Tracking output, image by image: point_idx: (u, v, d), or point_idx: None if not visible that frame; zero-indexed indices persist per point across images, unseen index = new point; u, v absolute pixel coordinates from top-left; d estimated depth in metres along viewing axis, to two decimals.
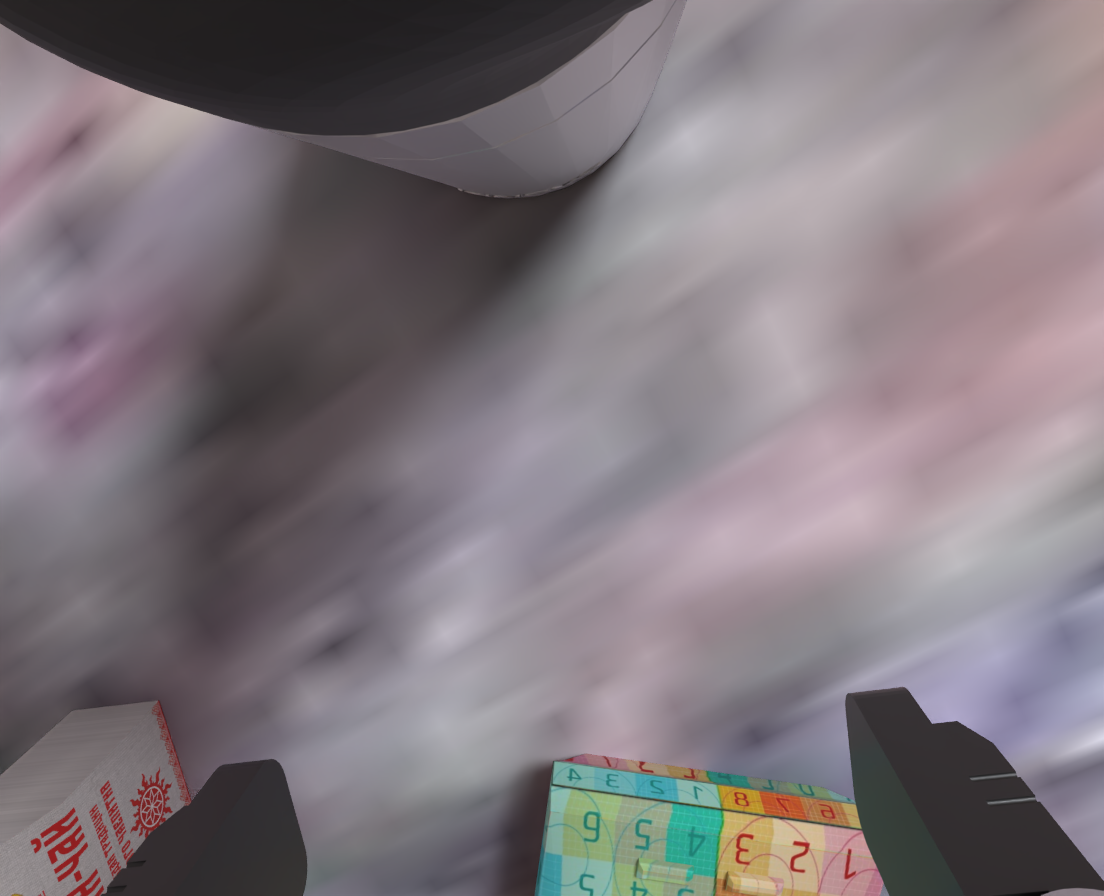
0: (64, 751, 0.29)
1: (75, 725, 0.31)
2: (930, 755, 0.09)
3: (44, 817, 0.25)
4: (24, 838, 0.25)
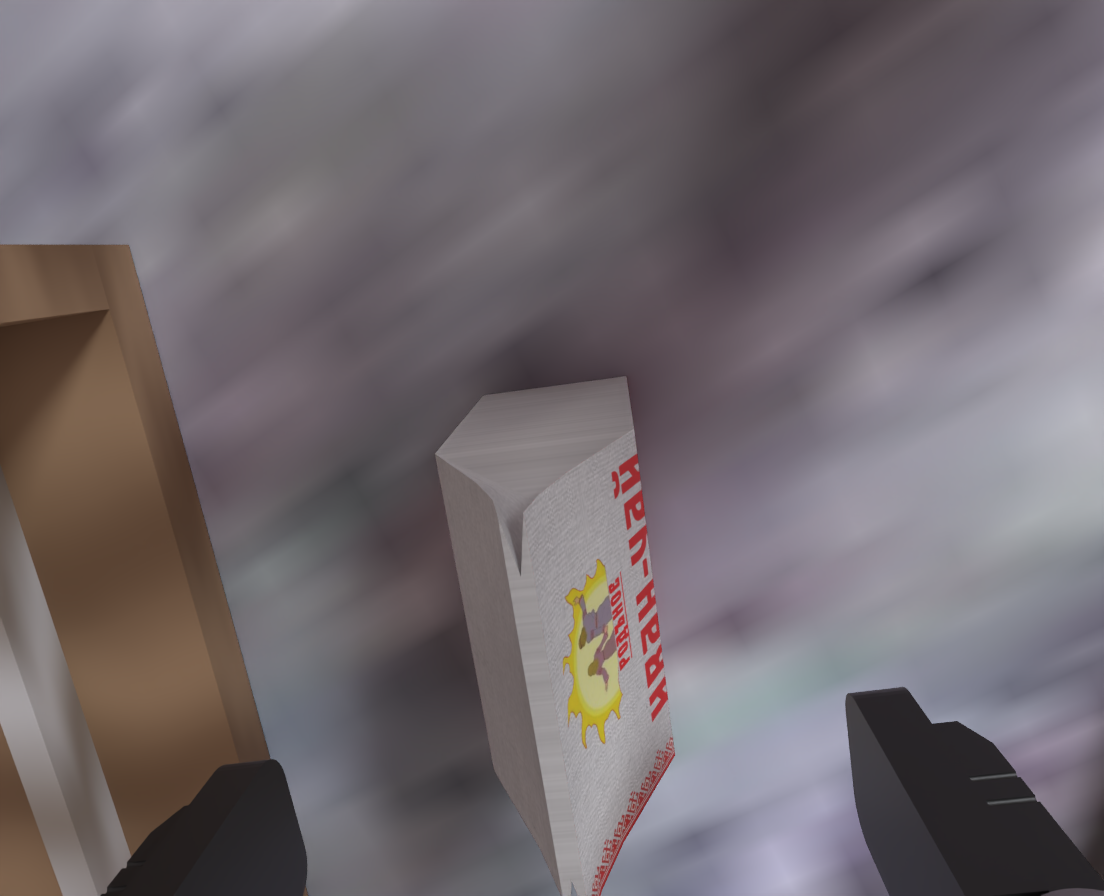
0: (538, 409, 0.17)
1: (513, 399, 0.19)
2: (930, 755, 0.09)
3: (621, 440, 0.14)
4: (606, 464, 0.13)
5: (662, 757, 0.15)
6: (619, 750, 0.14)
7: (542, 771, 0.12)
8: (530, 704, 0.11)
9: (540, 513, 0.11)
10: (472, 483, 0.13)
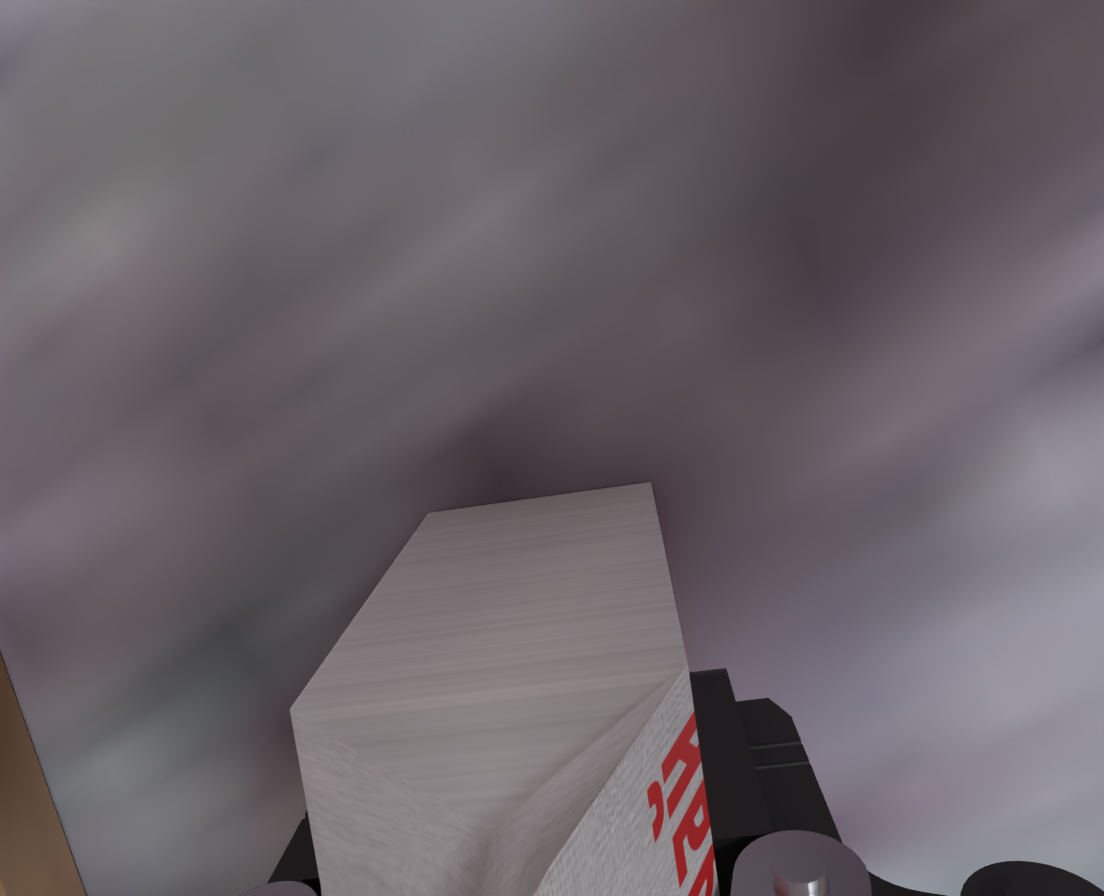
0: (506, 564, 0.10)
1: (471, 529, 0.12)
2: (723, 725, 0.10)
3: (664, 703, 0.07)
4: (637, 779, 0.06)
5: None
6: None
7: None
8: None
9: None
10: (320, 877, 0.05)
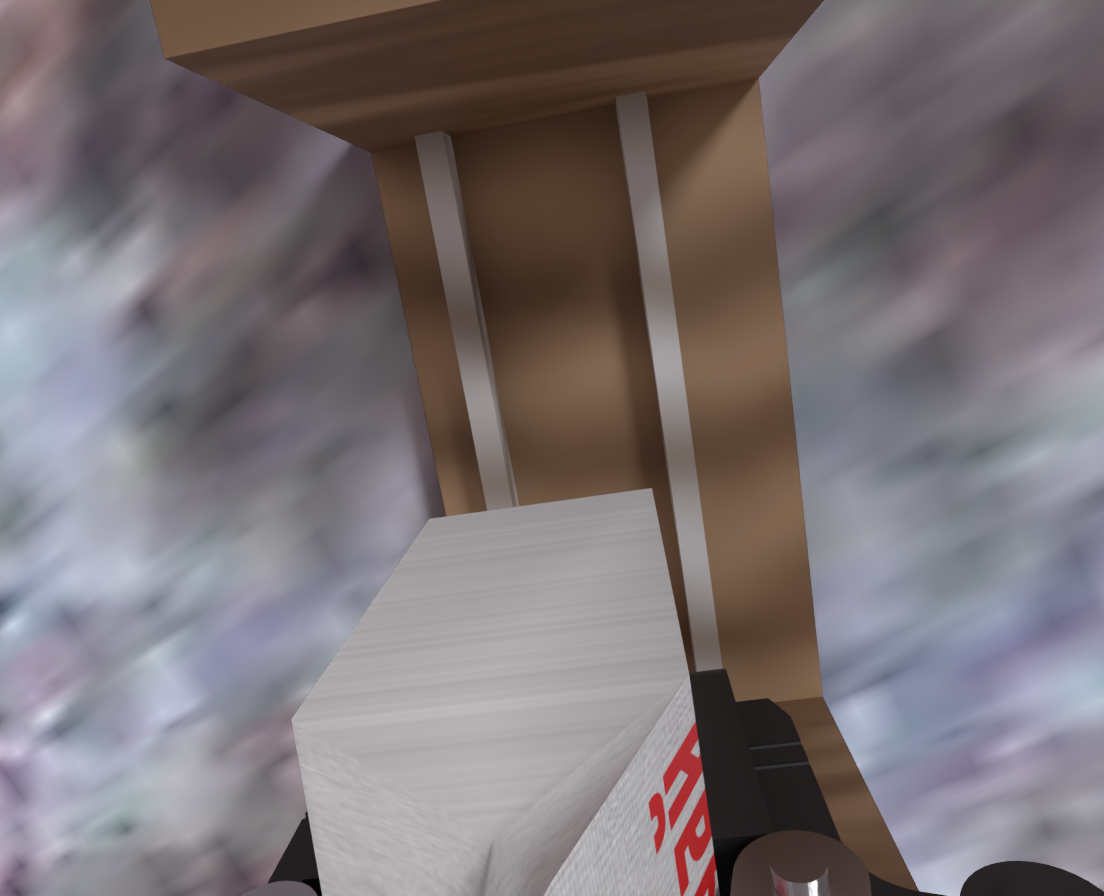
0: (508, 571, 0.10)
1: (472, 535, 0.12)
2: (723, 725, 0.10)
3: (666, 714, 0.07)
4: (639, 792, 0.06)
5: None
6: None
7: None
8: None
9: None
10: (322, 891, 0.05)
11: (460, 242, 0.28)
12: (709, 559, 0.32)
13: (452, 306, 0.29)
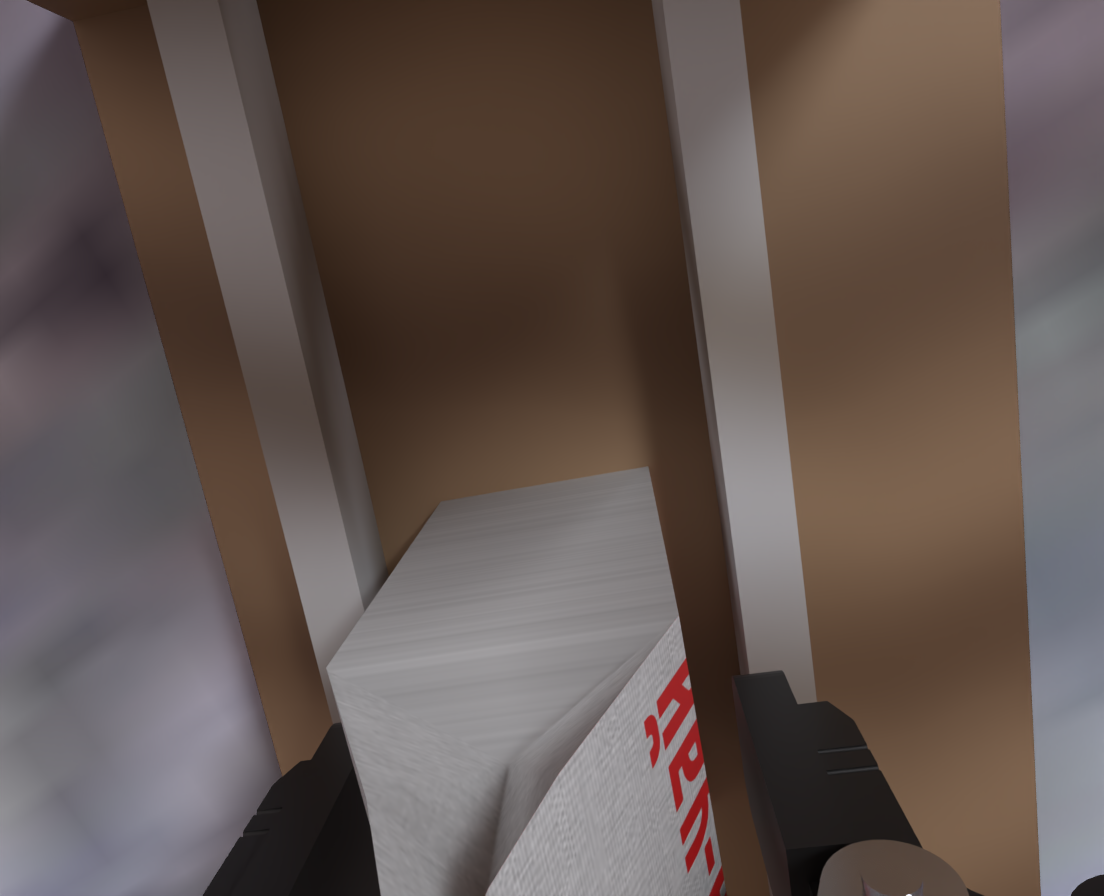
0: (516, 541, 0.11)
1: (481, 513, 0.13)
2: (788, 729, 0.10)
3: (658, 648, 0.07)
4: (634, 711, 0.07)
5: None
6: None
7: None
8: None
9: None
10: (364, 792, 0.06)
11: (263, 226, 0.12)
12: None
13: (255, 377, 0.12)
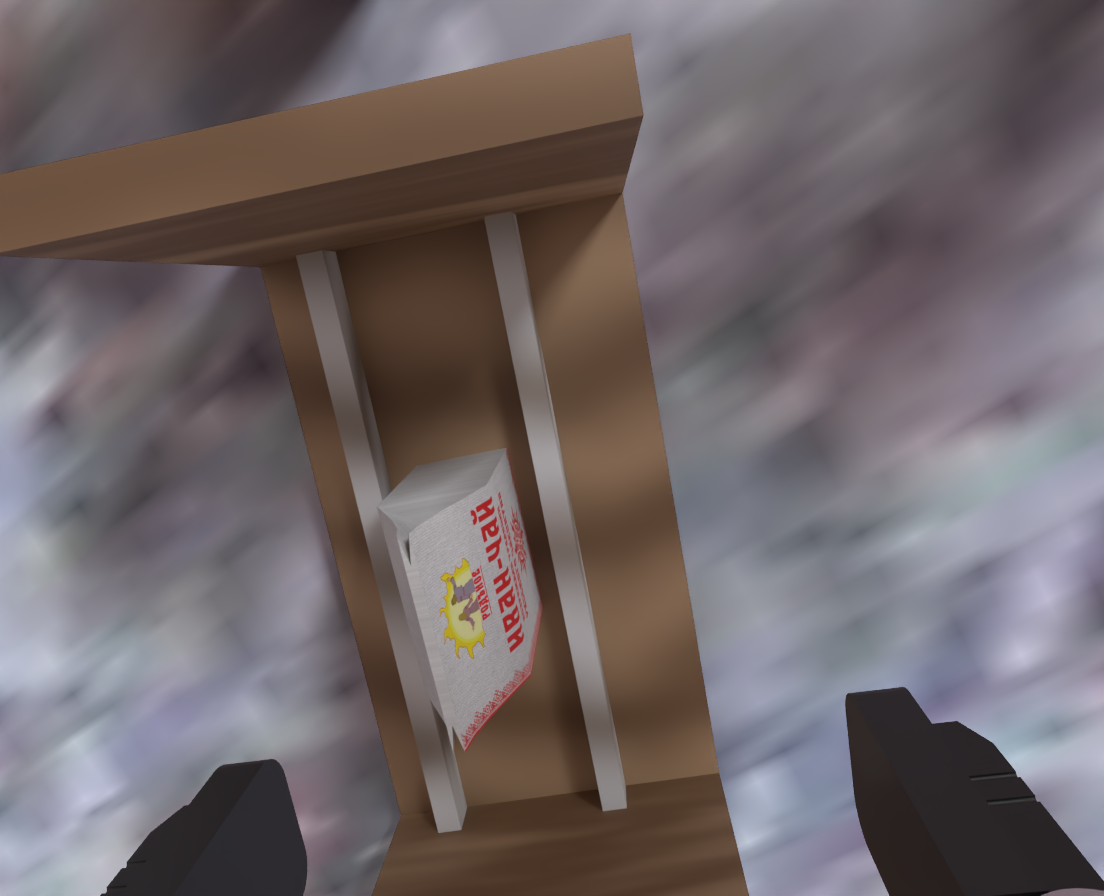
0: (444, 474, 0.29)
1: (433, 467, 0.31)
2: (930, 755, 0.09)
3: (477, 492, 0.25)
4: (466, 506, 0.25)
5: (520, 674, 0.26)
6: (485, 664, 0.25)
7: (431, 666, 0.23)
8: (422, 631, 0.22)
9: (421, 534, 0.22)
10: (391, 521, 0.24)
11: (343, 353, 0.29)
12: (602, 643, 0.33)
13: (339, 412, 0.30)
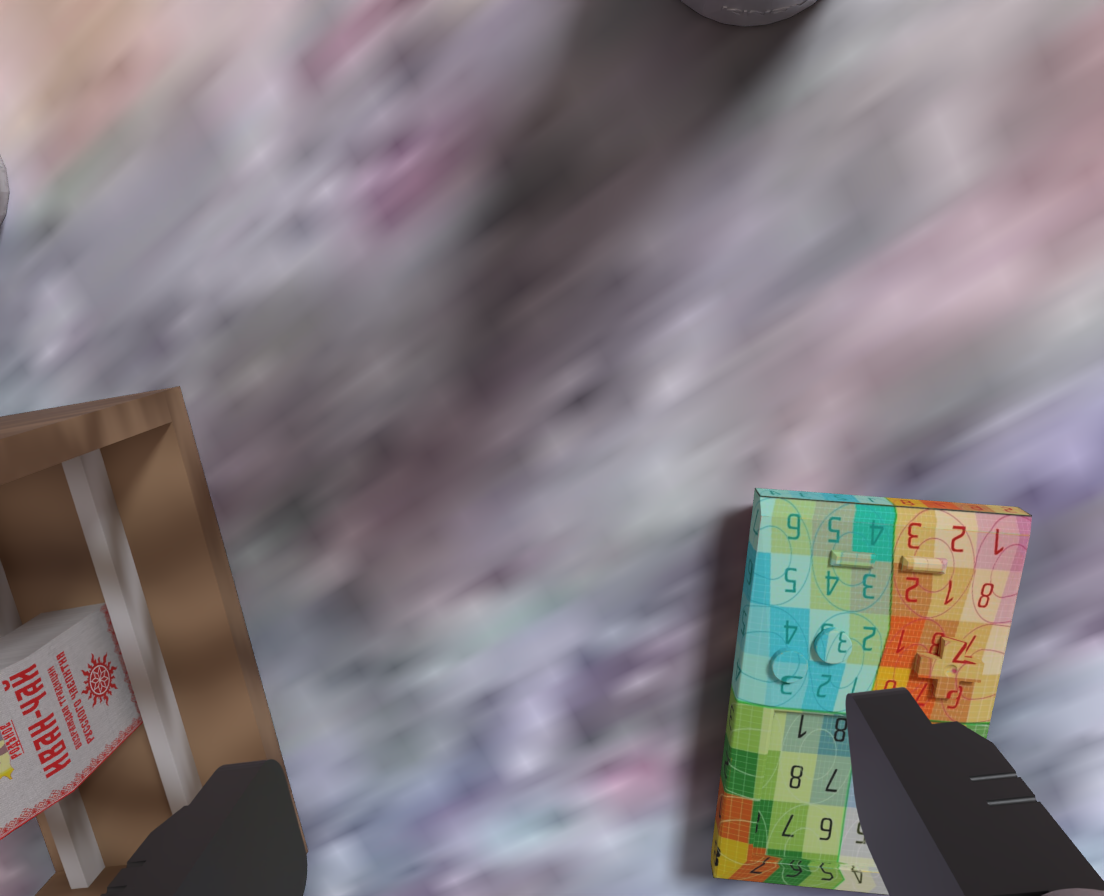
0: (31, 633, 0.38)
1: (42, 620, 0.40)
2: (930, 755, 0.09)
3: (12, 666, 0.35)
4: None
5: (59, 792, 0.36)
6: (11, 791, 0.34)
7: None
8: None
9: None
10: None
11: None
12: (193, 748, 0.42)
13: None
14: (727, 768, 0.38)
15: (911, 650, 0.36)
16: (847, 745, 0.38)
